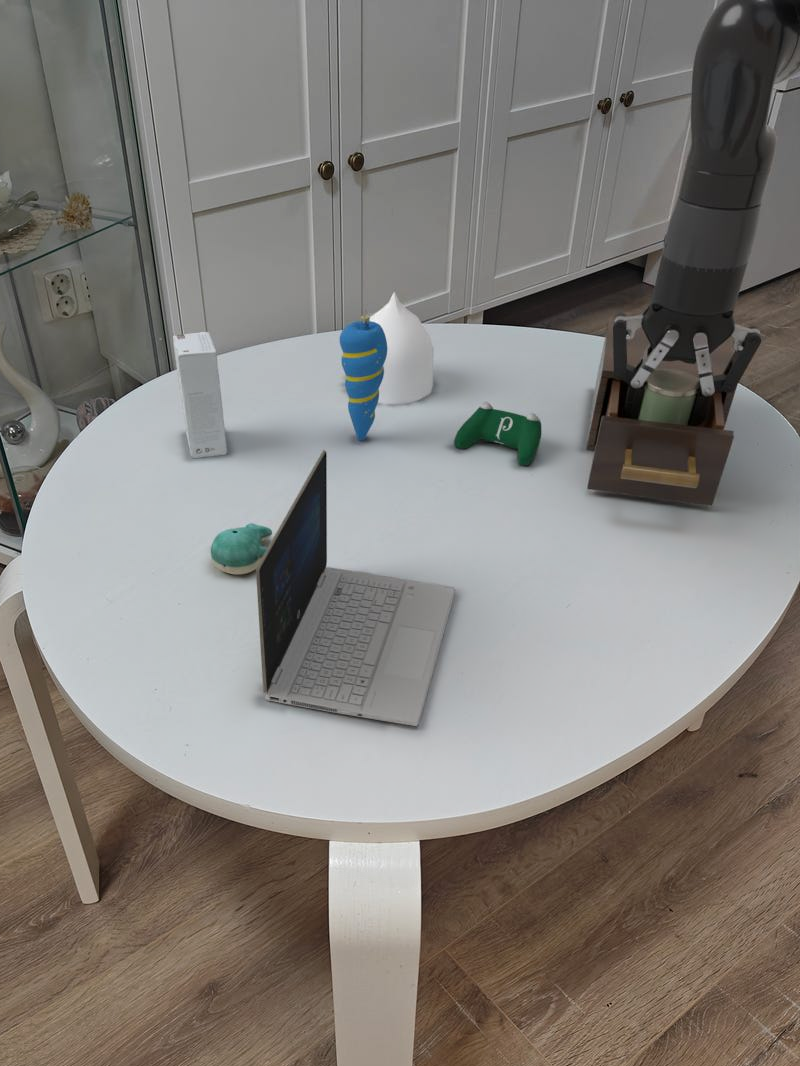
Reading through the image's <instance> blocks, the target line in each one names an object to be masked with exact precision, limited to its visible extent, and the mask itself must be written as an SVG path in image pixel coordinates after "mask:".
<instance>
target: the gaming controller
mask: <svg viewBox="0 0 800 1066" xmlns="http://www.w3.org/2000/svg"><path fill="white" fill-rule="evenodd" d="M541 438H542V422H541V419H540V418H539V416H537V414H535V413H534V412H529V413H528V414H527V415H526V416H525V415H522V414H518V413H514V412H510V411H507V410H501V409H494V407H493V406H492V405H491V404H490V402H488V401H483V402H482V403H481V405H480V406H479V407H478V408H477V410H475V411H474V412H473V414H471V416H470V417H468V418H467V420H466V421H465V422H464V423H463V424H461V427H460V428H459V429H458V430H457V432H456V435H455V437H454V440H453V445H454V447H456V448H457V449H461V450H464V449H467V448H469V447H470V446H472V445H473V444H475V443H476V442H477V441H478V440H481V439H482V440H484V441H485V442H487V443H496V444H497V443H498V444H500V445H504V446H507V447H509V448H511V449H517V462H518V464H519V465H521V466H523V467H526V466H529V465H530V463H531V462H532V460H533V458H534V456H535V455H536V453H537V450H538V448H539V446H540V442H541V440H542V439H541Z"/></svg>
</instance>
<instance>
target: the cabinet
mask: <svg viewBox="0 0 800 1066" xmlns="http://www.w3.org/2000/svg"><path fill="white" fill-rule="evenodd" d="M613 324H614V317H608V320H607V324H606V325H607V326H606V330H605V335H604V339H603V344H602V345H603V346H602V351H601V355H600V361H599V365H598V369H597V370H598V371H597V374H596V380H595V386H594V390H593V396H592V404H591V412H590V419H589V425H588V432H587V441H586V446H585V447H586V448H585V451H589V452H595V447H596V442H597V437H598V433H599V428H600V423H601V418H602V416H604V412H605V407H606V403H607V398H608V393H609V389H610V384H611V379H612V378H614V360H613ZM649 344H650V343H649V341H648V339H647V337H646V335H645V333H644V331H643V329H642V328H639V329H637V330H636V332H635V336H634V338H633V339H631V340H628V341H627V364H629V365H631V366H633V367H635V366H636V365H637V363H638V362H639V360H640V359H641V357H642V356H643V353H644V351H645V350H646V348H647V347H648V345H649ZM733 354H734V349H733V341H732V337H731V336H730V337H729V338H728V339H727V340H726V341H725V342H723V343H722V344H721V345H720V346H719V347H718V348H716V349H715V350H714V351H713V352H712V353H711V354H710V356H711V364H712V371H713V376H716V375H720V374H723V372H724V370H725V368H726V367H727V365H728V363H729V361H730V359H731V357H732V356H733ZM657 369H674V370H680V371H684V372H687V373H690V374H692V375H694V376H695V377H697V378H698V379H699V373H698V367H697V362H696V363H695V364H689V363H685V362H682V361H679V360H678V361H661V362H660V364H659V365H658V366H657V368H656V369H655V370H657ZM699 380H700V379H699ZM737 388H738V385H737V386H736V388H735V390H734V391H732V392H730V393H726V392H724V391H723V392H721V396H722V406H723V415H724V425H725V426H724V428H725V427H726V423H727V420H728V417H729V413H730V411H731V407H732V403H733V401H734V398H735V394H736V391H737Z"/></svg>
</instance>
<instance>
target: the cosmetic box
mask: <svg viewBox="0 0 800 1066" xmlns="http://www.w3.org/2000/svg"><path fill="white" fill-rule="evenodd" d="M172 343H173V349H174V359H175V365H176V370H177V371H176V373H177V379H178V385H179V393H180V398H181V405H182V413H183V420H184V428H185V433H186V439H187V443H188V444H187V445H188V447H189V452H190V456H191V458H193V459H199V458H208V457H209V458H210V457H218V456H227V453H228V445H227V437H226V428H225V419H224V410H223V400H222V392H221V383H220V374H219V366H218V353H217V350H216V347H215V344H214V342H213V339H212V336H211V334H210V332H209V331H200V332H193V333H184V334H177V335H173V336H172Z"/></svg>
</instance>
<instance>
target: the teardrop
mask: <svg viewBox="0 0 800 1066" xmlns="http://www.w3.org/2000/svg"><path fill="white" fill-rule="evenodd" d="M369 317H370V321H372V322H375V323H378V324H379V325H380V326H381V327H382V329H383V331H384V333H385V336H386V341H387V356H386V360H385V362H384V365H383V367H384V377H383V380H382V382H381V385H380V387H379V399H378V403H377V404H385V405H402V404H403V405H404V404H410V403H414V402H418V401H420V400H421V399H424V398H425V397H427V396H428V395H430V394H431V393H432V390H433V388H434V352H435V351H434V346H433V342H432V338H431V336H430V334H429V332H428V331H427V330H426V328H425V326H424V325H423V323H422V322H421V320H420V319H419V317H418V316H417V315H416V314H414V313H413V312H412V311H409V309H408V308H407V307H405V306H404V305H403V303H401V302H400V300H399V298H398V296H397V293H396V291H393V293H392V295H391V297H390V299H389V301H388V302H387V303H386V304H385V305H384V306H383V307H382V308H381V309H379V310H378V311H376V312H375V313H374V314H372V315H371V316H369Z"/></svg>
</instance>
